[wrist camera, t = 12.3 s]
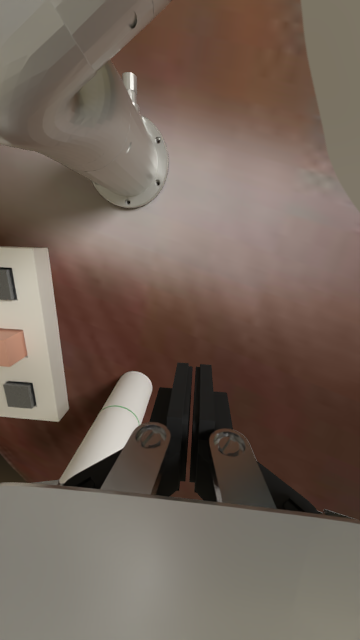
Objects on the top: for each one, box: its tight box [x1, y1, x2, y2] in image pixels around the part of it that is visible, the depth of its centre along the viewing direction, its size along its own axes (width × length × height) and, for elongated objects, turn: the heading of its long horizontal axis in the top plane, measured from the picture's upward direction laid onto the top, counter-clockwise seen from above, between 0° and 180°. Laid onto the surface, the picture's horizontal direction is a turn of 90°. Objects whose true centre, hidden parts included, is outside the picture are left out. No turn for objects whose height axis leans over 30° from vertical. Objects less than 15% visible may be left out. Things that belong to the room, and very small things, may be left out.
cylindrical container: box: [59, 371, 152, 484], centre depth 38 cm, size 7×7×25 cm
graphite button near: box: [0, 267, 17, 300], centre depth 43 cm, size 5×5×5 cm
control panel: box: [0, 246, 69, 422], centre depth 47 cm, size 14×34×4 cm, turn 178°
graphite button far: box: [3, 381, 36, 409], centre depth 50 cm, size 5×5×5 cm
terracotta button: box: [0, 328, 27, 367], centre depth 43 cm, size 5×5×5 cm
